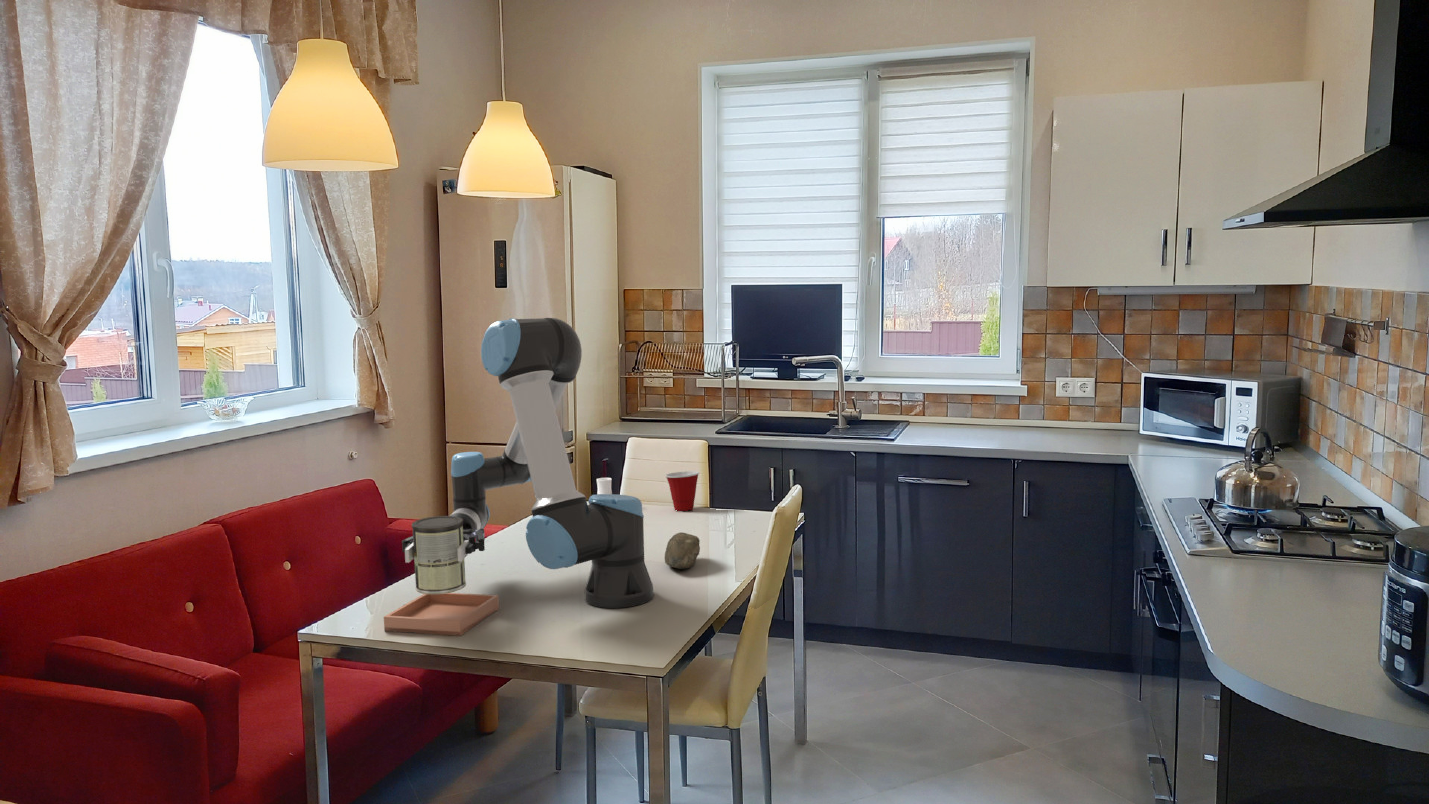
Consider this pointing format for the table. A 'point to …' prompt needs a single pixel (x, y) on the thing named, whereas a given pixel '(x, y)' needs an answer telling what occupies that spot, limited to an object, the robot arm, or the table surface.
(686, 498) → the plastic cup
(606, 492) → the vase
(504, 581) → the table surface
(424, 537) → the coffee can
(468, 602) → the terracotta dish
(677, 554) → the stone
